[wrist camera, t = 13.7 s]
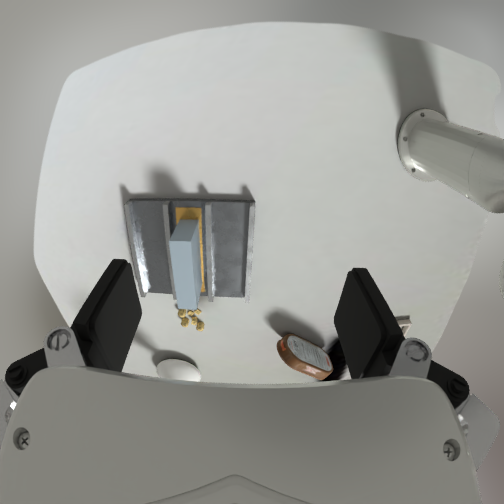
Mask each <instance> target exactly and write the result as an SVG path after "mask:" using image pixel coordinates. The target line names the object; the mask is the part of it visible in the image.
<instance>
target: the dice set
mask: <svg viewBox="0 0 504 504" xmlns="http://www.w3.org/2000/svg"><path fill="white" fill-rule="evenodd" d="M194 312H195V313H196V314H198V315H199V314H200V313H201V311H200V310H199V309H197V310H195V311H194ZM194 312H193V311H191V310H190V311H189V312H188V314H189V315H190V316H192V315H193V314H194ZM185 315H186V309H179V312H178V316H180V317H185ZM197 321H198V319H197V317H192V323H191V324H193V325H196V323H197ZM188 323H189V319H188V318H183V319H182V322H181V325H182V326H183V327H187V326H188ZM196 329H197V330H198V331H203V329H204V323H203V322H198V323H197V327H196Z"/></svg>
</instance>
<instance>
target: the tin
mask: <svg viewBox="0 0 504 504" xmlns="http://www.w3.org/2000/svg"><path fill="white" fill-rule="evenodd" d="M277 350H278V353H279V355H280V357H281V358H282V360H283V361H284V362H285V363H286V364H287V365H288V366H289V367H291V368H292V369H294V370H296V371H299V372H301V373H304V374H307V375H309V376H312V377H314V378H317V379H320V380H322V379H325V378H326V377H327V376H328V375H329V374H331V373H332V371H333V366H332V363H331V360H330V358H329V356H328V355H327V353H326V352H325V351H324V350H323V349H322V348H320V347H319V346H317V345H315V344H313V343H311V342H309V341H307V340H305V339H303V338H301V337H299V336H297V335H295V334H287V335H286V336H284V337H283V338H282V339H281V340H279V341H278V343H277Z"/></svg>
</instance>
